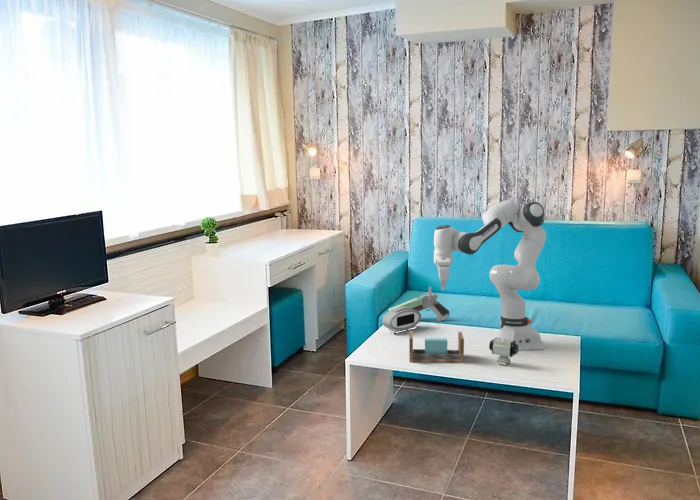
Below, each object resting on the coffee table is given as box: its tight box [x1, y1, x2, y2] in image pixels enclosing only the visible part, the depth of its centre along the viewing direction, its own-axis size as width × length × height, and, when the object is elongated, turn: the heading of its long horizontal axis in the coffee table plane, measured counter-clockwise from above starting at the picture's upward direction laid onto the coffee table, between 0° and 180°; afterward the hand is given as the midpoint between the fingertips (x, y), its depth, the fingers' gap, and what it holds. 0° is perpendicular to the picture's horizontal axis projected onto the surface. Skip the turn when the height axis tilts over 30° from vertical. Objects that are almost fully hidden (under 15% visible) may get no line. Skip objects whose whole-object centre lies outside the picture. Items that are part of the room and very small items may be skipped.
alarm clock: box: [382, 307, 422, 333], centre depth 318 cm, size 23×6×13 cm, turn 129°
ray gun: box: [387, 286, 451, 323], centre depth 339 cm, size 7×32×20 cm, turn 86°
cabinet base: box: [408, 330, 465, 364], centre depth 271 cm, size 24×12×11 cm, turn 84°
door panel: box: [424, 337, 448, 354], centre depth 271 cm, size 10×4×8 cm, turn 84°
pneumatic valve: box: [488, 337, 519, 367], centre depth 261 cm, size 6×12×12 cm, turn 55°
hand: (442, 287), depth 286 cm, fingers open, 8 cm apart
